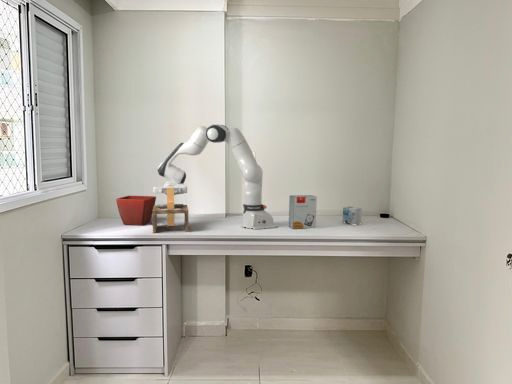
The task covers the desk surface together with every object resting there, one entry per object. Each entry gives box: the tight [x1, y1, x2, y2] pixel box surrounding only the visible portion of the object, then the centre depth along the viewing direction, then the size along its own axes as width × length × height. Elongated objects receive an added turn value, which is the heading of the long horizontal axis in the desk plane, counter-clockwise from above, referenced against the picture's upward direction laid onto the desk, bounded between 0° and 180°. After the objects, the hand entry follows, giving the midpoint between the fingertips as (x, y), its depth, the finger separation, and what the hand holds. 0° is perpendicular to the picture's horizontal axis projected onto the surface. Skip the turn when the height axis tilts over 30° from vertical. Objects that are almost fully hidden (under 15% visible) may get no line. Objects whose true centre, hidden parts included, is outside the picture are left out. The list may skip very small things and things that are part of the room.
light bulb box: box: [341, 205, 363, 225], centre depth 246 cm, size 11×7×11 cm, turn 37°
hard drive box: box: [288, 194, 318, 230], centre depth 232 cm, size 16×8×20 cm, turn 105°
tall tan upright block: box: [166, 187, 175, 227], centre depth 222 cm, size 4×12×22 cm, turn 13°
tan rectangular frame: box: [152, 203, 190, 234], centre depth 223 cm, size 20×20×15 cm
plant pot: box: [115, 195, 157, 226], centre depth 239 cm, size 19×19×17 cm
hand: (170, 191), depth 220 cm, fingers open, 8 cm apart
